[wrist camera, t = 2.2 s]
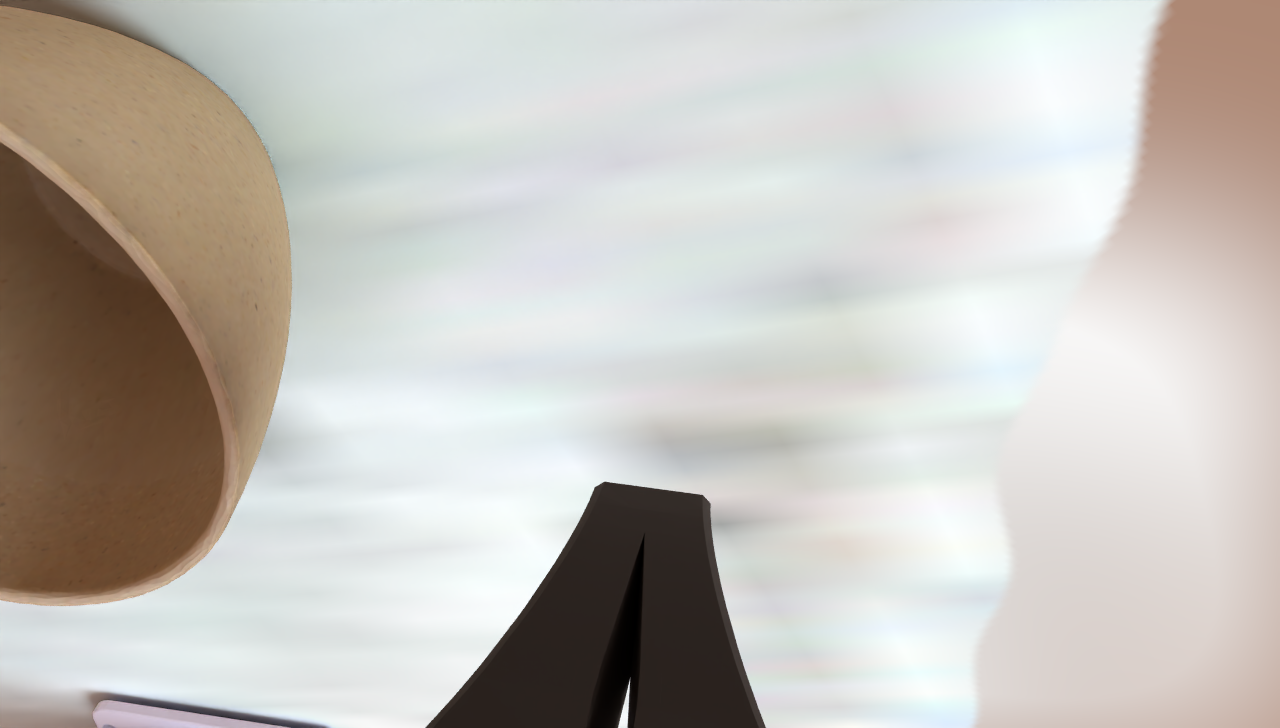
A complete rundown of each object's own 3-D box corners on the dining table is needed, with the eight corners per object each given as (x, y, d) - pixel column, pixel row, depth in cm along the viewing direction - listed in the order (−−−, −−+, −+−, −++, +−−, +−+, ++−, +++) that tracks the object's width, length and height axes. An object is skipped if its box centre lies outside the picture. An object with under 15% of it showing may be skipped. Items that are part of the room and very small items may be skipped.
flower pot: (3, -241, 16) (-446, -185, 10) (494, 164, 19) (365, 384, 13) (-154, 171, 21) (-517, 365, 15) (254, 439, 24) (85, 686, 18)
